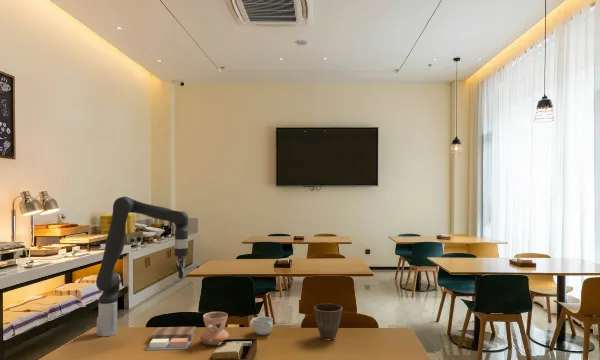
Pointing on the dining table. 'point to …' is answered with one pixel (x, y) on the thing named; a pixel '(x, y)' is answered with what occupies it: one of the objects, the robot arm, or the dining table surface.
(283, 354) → the dining table surface
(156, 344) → the cream block
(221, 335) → the ceramic jug
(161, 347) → the rubber mat
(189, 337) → the walnut stand
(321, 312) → the plant pot
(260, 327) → the teacup
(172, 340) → the terracotta block
